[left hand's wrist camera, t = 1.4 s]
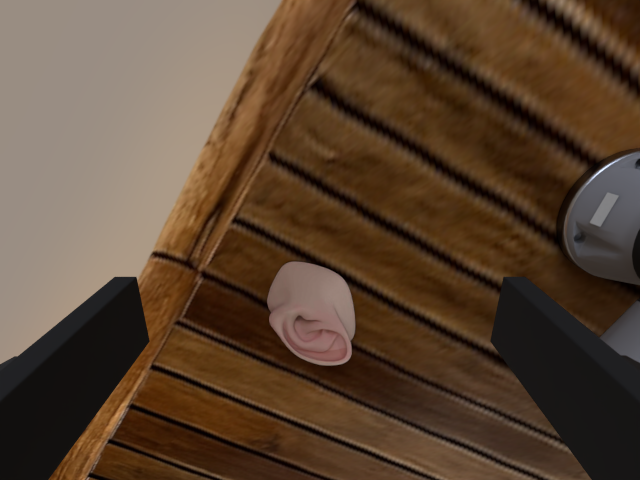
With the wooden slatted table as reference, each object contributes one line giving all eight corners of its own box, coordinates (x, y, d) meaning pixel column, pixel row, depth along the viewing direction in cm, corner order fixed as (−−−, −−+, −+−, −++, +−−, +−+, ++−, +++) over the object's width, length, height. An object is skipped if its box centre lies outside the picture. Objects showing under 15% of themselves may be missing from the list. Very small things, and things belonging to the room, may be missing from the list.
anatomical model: (259, 275, 40) (361, 275, 40) (265, 261, 43) (357, 261, 43) (266, 369, 44) (356, 369, 44) (270, 349, 48) (354, 349, 48)
